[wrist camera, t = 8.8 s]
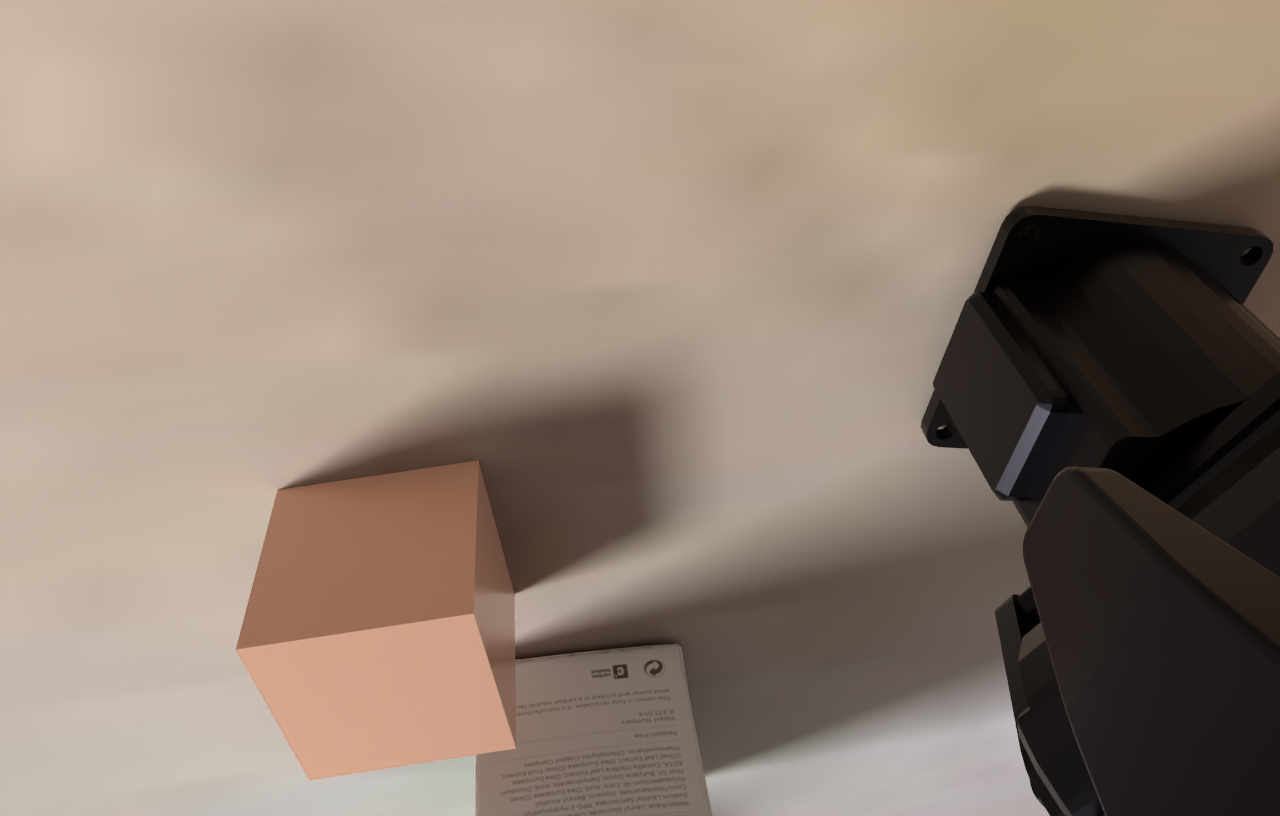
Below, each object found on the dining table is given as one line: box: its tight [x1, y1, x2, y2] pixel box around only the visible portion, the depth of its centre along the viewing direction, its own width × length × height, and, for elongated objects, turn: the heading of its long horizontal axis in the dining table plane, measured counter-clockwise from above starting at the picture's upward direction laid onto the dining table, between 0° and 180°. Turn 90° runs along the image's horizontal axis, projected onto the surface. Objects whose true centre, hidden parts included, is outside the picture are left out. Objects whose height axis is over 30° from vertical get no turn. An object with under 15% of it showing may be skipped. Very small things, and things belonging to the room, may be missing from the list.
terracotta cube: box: [236, 460, 516, 780], centre depth 24 cm, size 5×5×5 cm
